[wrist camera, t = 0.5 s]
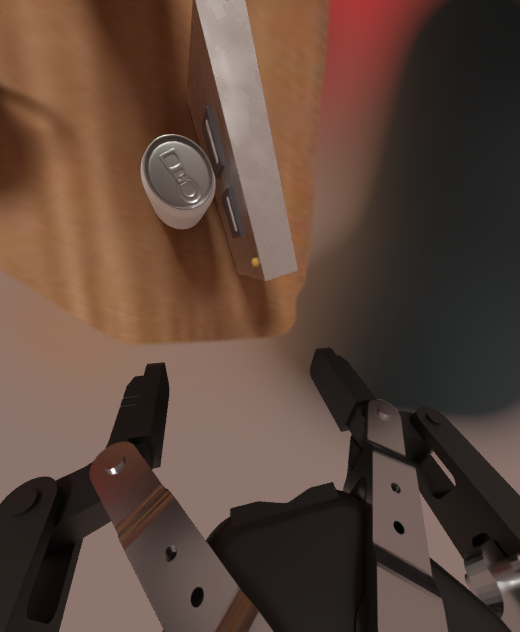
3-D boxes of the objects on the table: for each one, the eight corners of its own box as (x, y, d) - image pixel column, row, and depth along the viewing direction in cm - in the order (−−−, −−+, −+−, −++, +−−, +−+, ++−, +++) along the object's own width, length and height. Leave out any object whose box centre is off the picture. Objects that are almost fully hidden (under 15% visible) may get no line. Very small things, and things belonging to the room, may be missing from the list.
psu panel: (182, 98, 27) (186, -9, 16) (217, 95, 28) (243, -7, 17) (234, 274, 34) (261, 282, 23) (260, 266, 35) (297, 270, 25)
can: (173, 239, 30) (171, 229, 19) (140, 191, 28) (117, 149, 17) (212, 215, 31) (232, 193, 20) (184, 167, 29) (189, 112, 18)
